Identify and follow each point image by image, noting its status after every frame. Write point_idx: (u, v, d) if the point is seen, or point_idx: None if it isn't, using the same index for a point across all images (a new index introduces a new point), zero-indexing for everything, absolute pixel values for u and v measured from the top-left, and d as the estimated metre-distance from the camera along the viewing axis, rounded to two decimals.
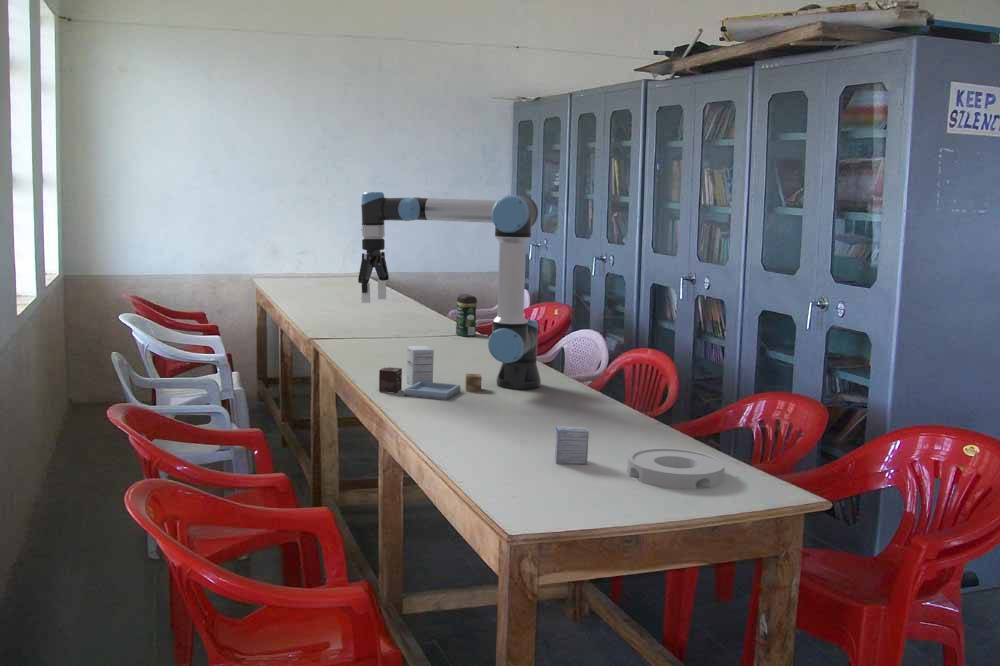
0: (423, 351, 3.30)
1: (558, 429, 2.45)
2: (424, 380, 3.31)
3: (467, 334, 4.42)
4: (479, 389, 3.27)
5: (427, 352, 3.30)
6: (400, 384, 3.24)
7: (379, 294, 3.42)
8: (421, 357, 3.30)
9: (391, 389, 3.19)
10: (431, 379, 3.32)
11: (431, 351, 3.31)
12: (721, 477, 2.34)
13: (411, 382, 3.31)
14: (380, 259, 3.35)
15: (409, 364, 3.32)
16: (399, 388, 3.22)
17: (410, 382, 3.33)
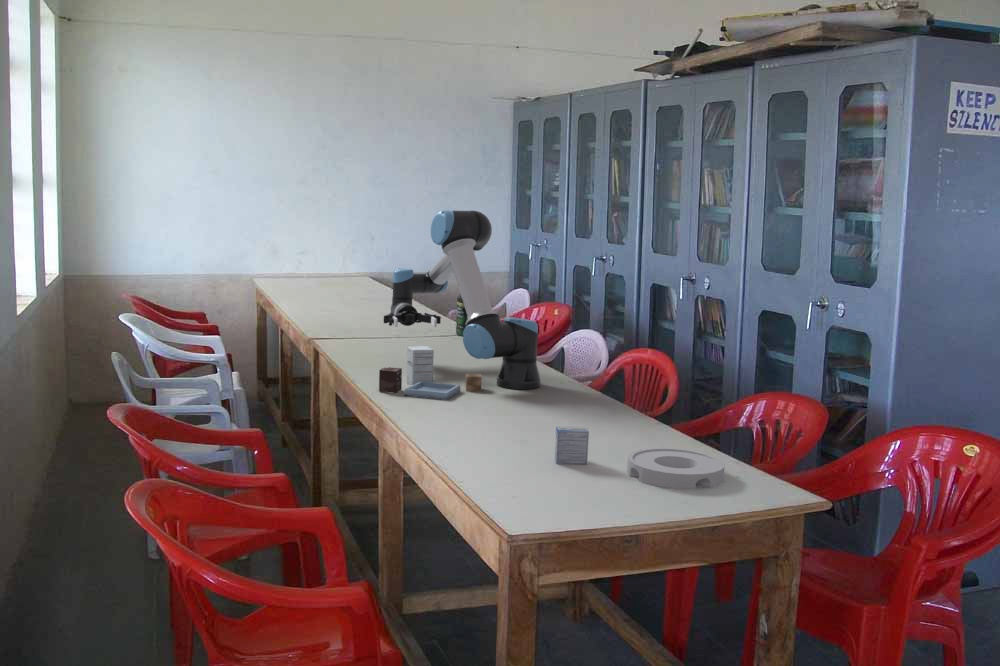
0: (423, 351, 3.30)
1: (558, 429, 2.45)
2: (424, 380, 3.31)
3: None
4: (479, 389, 3.27)
5: (427, 352, 3.30)
6: (400, 384, 3.24)
7: (433, 324, 3.45)
8: (421, 357, 3.30)
9: (391, 389, 3.19)
10: (431, 379, 3.32)
11: (431, 351, 3.31)
12: (721, 477, 2.34)
13: (411, 382, 3.31)
14: (413, 311, 3.55)
15: (409, 364, 3.32)
16: (399, 388, 3.22)
17: (410, 382, 3.33)
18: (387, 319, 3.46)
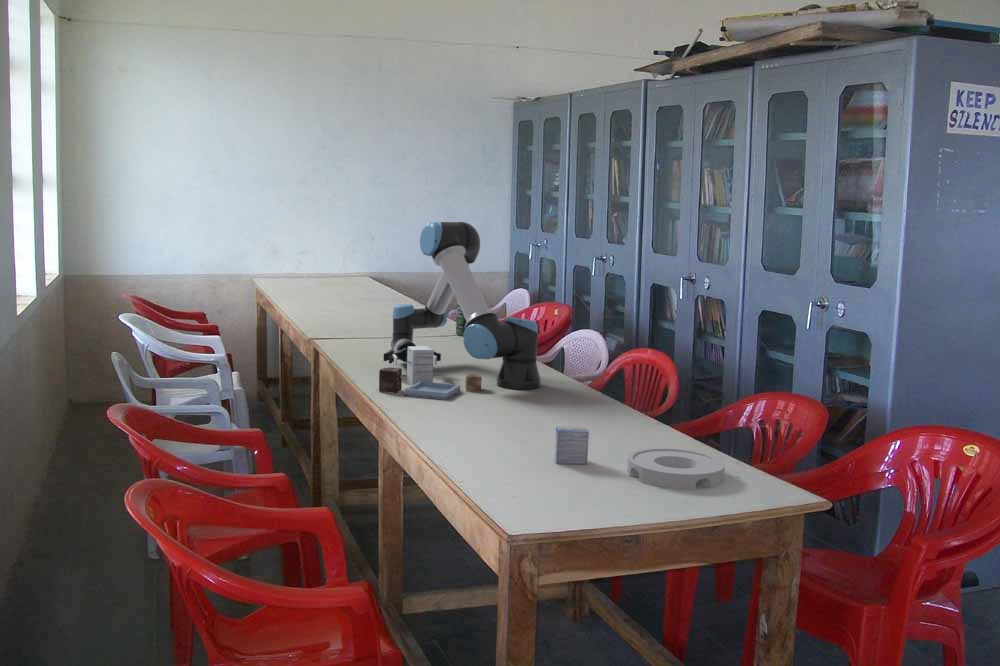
0: (423, 351, 3.30)
1: (558, 429, 2.45)
2: (424, 380, 3.31)
3: None
4: (479, 389, 3.27)
5: (427, 352, 3.30)
6: (400, 384, 3.24)
7: (433, 362, 3.43)
8: (421, 357, 3.30)
9: (391, 389, 3.19)
10: (431, 379, 3.32)
11: (431, 351, 3.31)
12: (721, 477, 2.34)
13: (411, 382, 3.31)
14: None
15: (409, 364, 3.32)
16: (399, 388, 3.22)
17: (410, 382, 3.33)
18: (387, 357, 3.44)
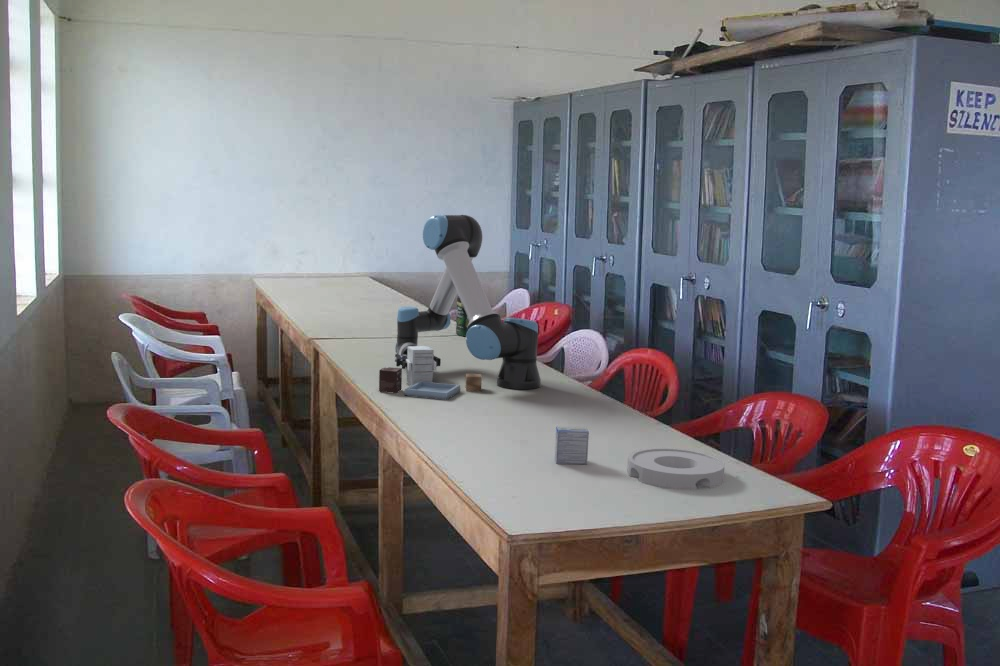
0: (423, 351, 3.30)
1: (558, 429, 2.45)
2: (424, 380, 3.31)
3: None
4: (479, 389, 3.27)
5: (427, 352, 3.30)
6: (400, 384, 3.24)
7: (433, 367, 3.32)
8: (421, 357, 3.30)
9: (391, 389, 3.19)
10: (431, 379, 3.32)
11: (431, 351, 3.31)
12: (721, 477, 2.34)
13: (411, 382, 3.31)
14: None
15: None
16: (399, 388, 3.22)
17: (409, 382, 3.33)
18: (400, 362, 3.34)
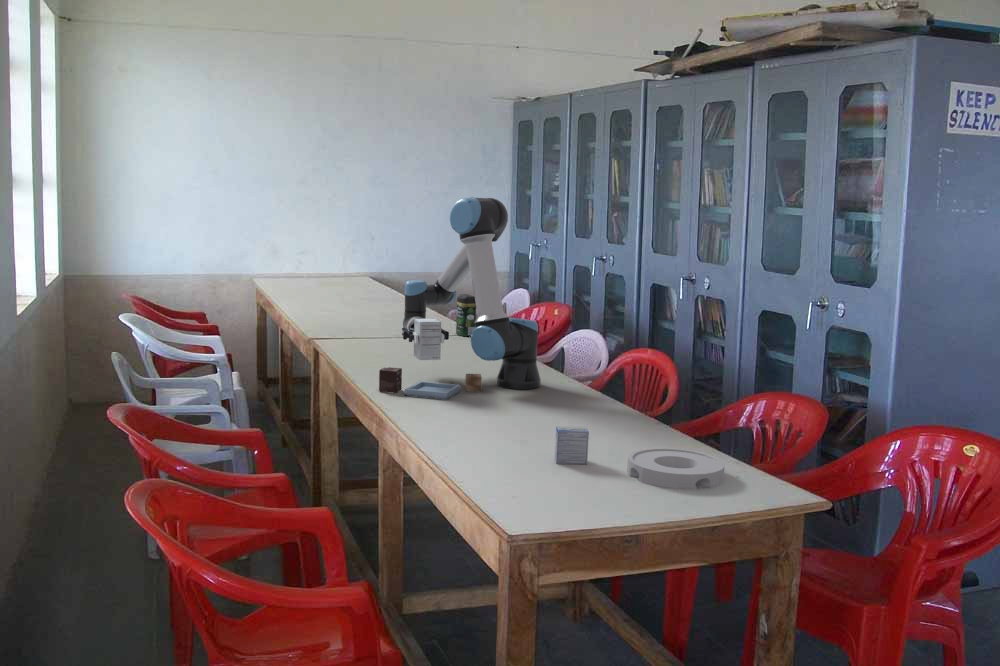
0: (430, 323, 3.18)
1: (558, 429, 2.45)
2: (431, 353, 3.20)
3: (467, 334, 4.42)
4: (479, 389, 3.27)
5: (434, 324, 3.19)
6: (400, 384, 3.24)
7: (441, 340, 3.21)
8: (428, 329, 3.19)
9: (391, 389, 3.19)
10: (439, 352, 3.21)
11: (439, 323, 3.19)
12: (721, 477, 2.34)
13: (418, 355, 3.20)
14: None
15: None
16: (399, 388, 3.22)
17: (416, 355, 3.22)
18: (407, 335, 3.23)
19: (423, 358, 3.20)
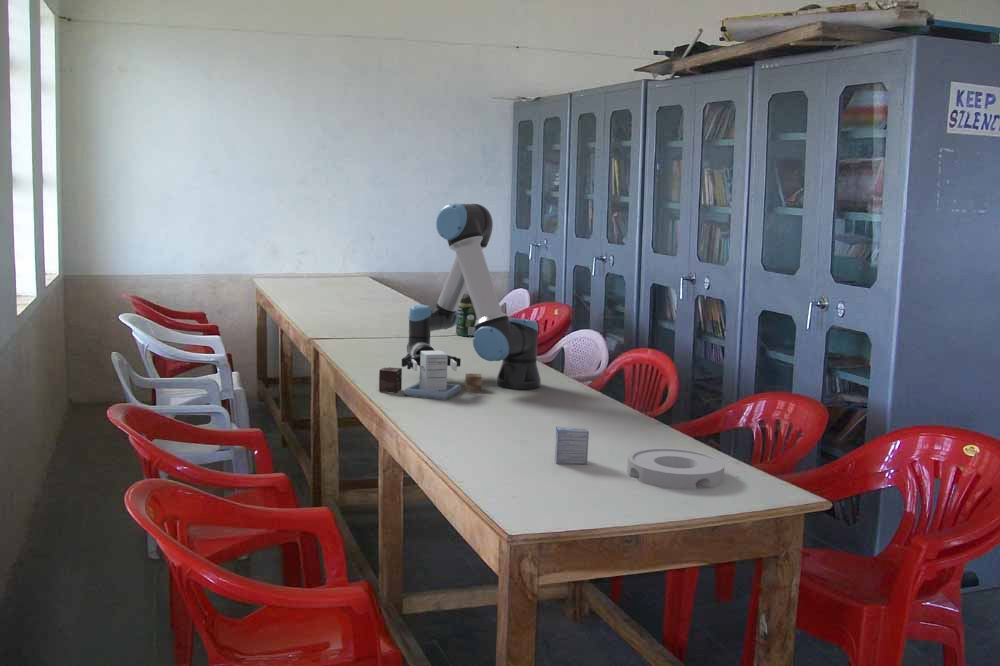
0: (436, 356, 3.16)
1: (558, 429, 2.45)
2: (437, 386, 3.17)
3: (467, 334, 4.42)
4: (479, 389, 3.27)
5: (441, 357, 3.16)
6: (400, 384, 3.24)
7: (453, 368, 3.19)
8: (434, 362, 3.16)
9: (391, 389, 3.19)
10: (445, 385, 3.18)
11: (445, 356, 3.17)
12: (721, 477, 2.34)
13: (424, 388, 3.17)
14: None
15: (422, 369, 3.19)
16: (399, 388, 3.22)
17: (422, 388, 3.19)
18: (405, 362, 3.21)
19: None
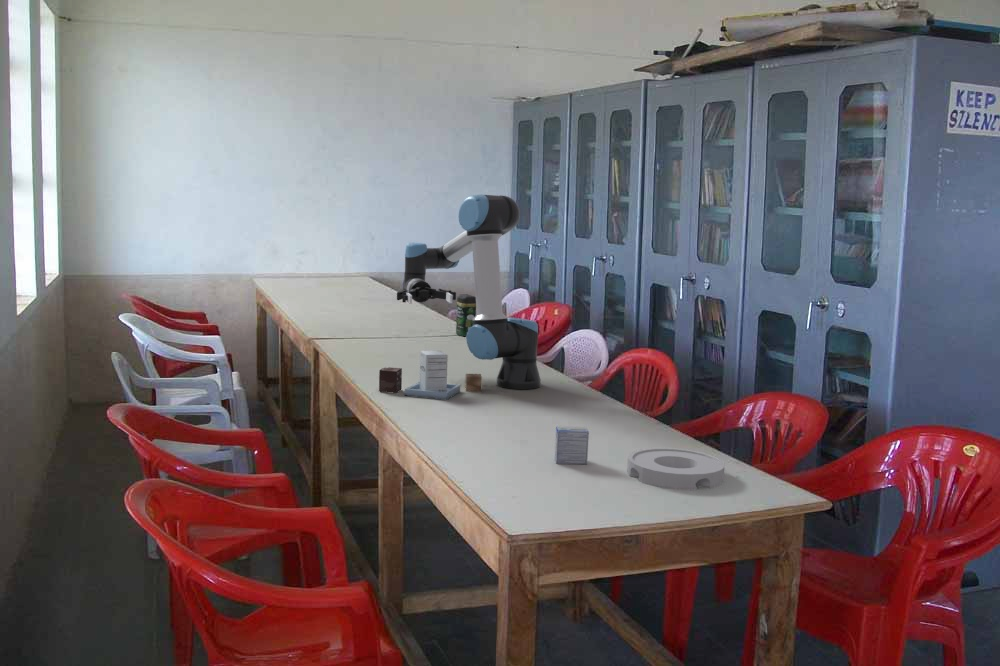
0: (436, 356, 3.16)
1: (558, 429, 2.45)
2: (437, 386, 3.17)
3: None
4: (479, 389, 3.27)
5: (441, 357, 3.16)
6: (400, 384, 3.24)
7: (449, 300, 3.29)
8: (434, 362, 3.16)
9: (391, 389, 3.19)
10: (445, 385, 3.18)
11: (445, 356, 3.17)
12: (721, 477, 2.34)
13: (424, 388, 3.17)
14: (427, 287, 3.39)
15: (422, 369, 3.19)
16: (399, 388, 3.22)
17: (422, 388, 3.19)
18: (400, 296, 3.30)
19: None
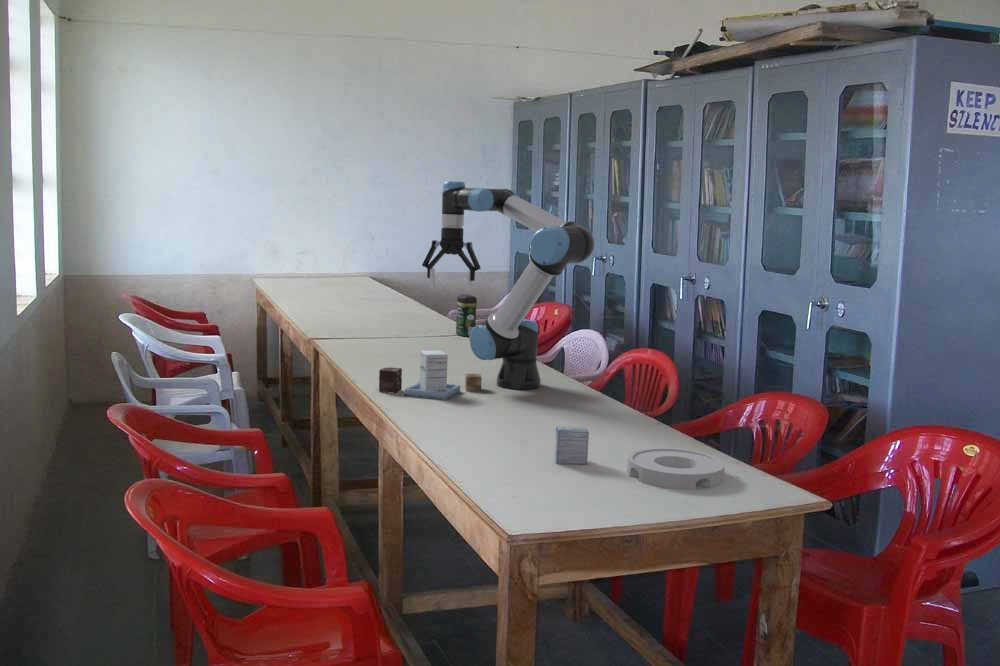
0: (436, 356, 3.16)
1: (558, 429, 2.45)
2: (437, 386, 3.17)
3: (467, 334, 4.42)
4: (479, 389, 3.27)
5: (441, 357, 3.16)
6: (400, 384, 3.24)
7: None
8: (434, 362, 3.16)
9: (391, 389, 3.19)
10: (445, 385, 3.18)
11: (445, 356, 3.17)
12: (721, 477, 2.34)
13: (424, 388, 3.17)
14: (453, 248, 3.36)
15: (422, 369, 3.19)
16: (399, 388, 3.22)
17: (422, 388, 3.19)
18: None
19: None
